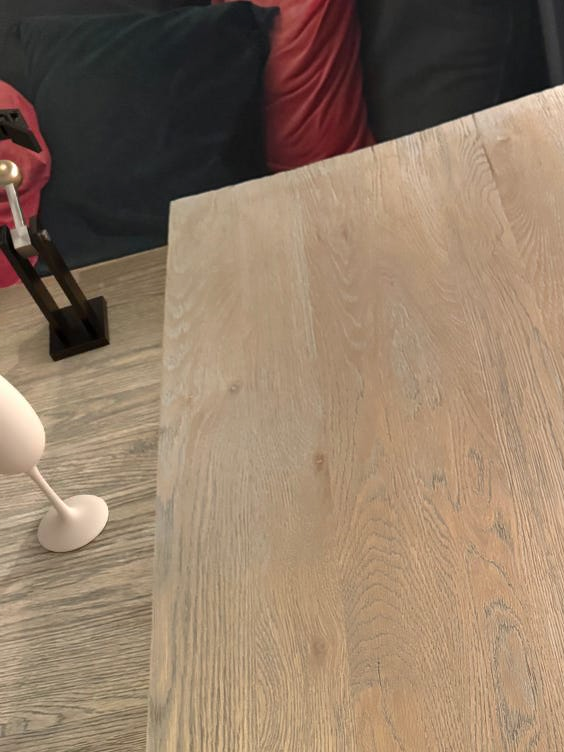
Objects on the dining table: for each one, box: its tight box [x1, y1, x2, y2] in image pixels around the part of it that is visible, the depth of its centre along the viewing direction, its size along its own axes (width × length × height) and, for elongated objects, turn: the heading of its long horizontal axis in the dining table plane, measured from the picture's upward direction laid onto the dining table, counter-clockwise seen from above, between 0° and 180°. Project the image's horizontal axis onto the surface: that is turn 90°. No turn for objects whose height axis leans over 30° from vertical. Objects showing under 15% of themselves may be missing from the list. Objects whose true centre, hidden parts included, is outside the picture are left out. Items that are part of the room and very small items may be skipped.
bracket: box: [0, 214, 110, 362], centre depth 126 cm, size 10×8×16 cm
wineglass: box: [0, 374, 109, 553], centre depth 102 cm, size 9×9×21 cm
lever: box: [0, 159, 41, 259], centre depth 121 cm, size 13×4×4 cm, turn 17°
